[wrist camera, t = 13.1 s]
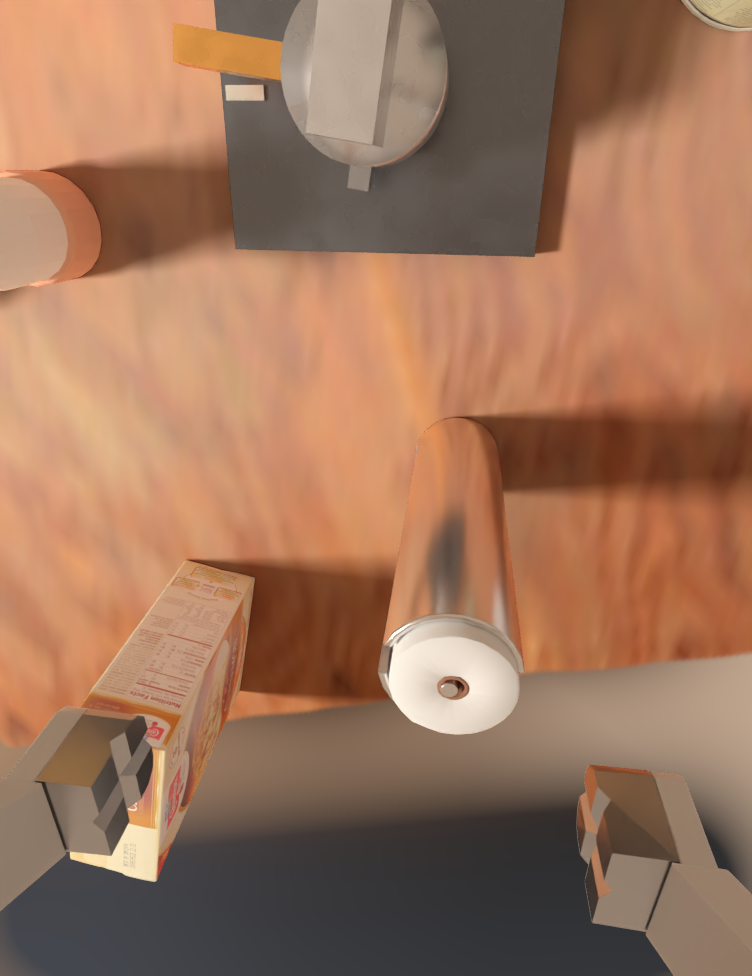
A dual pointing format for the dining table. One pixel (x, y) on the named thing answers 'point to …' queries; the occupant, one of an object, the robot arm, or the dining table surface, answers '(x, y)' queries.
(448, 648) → the thermos flask
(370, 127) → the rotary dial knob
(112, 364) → the dining table surface
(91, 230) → the pepper shaker
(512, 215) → the post plate
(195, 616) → the coffeecake box
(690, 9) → the coffee can
